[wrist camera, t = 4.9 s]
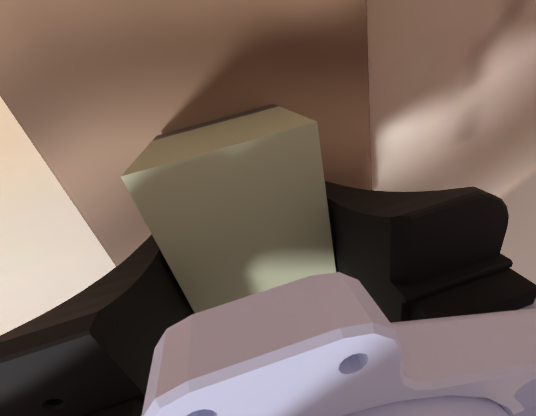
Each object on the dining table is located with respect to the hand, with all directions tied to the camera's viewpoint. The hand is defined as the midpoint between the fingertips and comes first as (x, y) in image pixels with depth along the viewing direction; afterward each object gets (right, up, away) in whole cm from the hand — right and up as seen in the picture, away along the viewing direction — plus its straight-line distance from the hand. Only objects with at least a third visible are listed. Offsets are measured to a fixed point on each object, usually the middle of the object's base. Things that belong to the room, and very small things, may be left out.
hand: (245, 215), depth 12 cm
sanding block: (0, +1, +1) cm, 1 cm away
